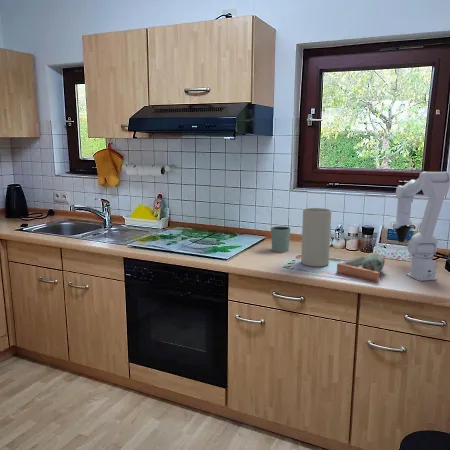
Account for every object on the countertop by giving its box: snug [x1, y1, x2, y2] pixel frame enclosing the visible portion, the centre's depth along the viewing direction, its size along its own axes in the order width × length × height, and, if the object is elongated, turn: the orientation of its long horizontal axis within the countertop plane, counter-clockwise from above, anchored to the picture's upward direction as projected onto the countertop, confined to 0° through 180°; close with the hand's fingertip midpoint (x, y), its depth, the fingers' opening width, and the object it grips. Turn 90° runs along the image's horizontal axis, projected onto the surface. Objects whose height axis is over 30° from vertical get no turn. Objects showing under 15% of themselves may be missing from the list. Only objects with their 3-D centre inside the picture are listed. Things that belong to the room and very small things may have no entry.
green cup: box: [270, 225, 291, 253], centre depth 217 cm, size 10×10×12 cm
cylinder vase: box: [300, 207, 332, 268], centre depth 191 cm, size 12×12×25 cm
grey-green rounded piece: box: [361, 252, 386, 275], centre depth 179 cm, size 14×10×10 cm
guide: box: [336, 256, 380, 284], centre depth 180 cm, size 23×19×4 cm
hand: (401, 241), depth 191 cm, fingers closed
